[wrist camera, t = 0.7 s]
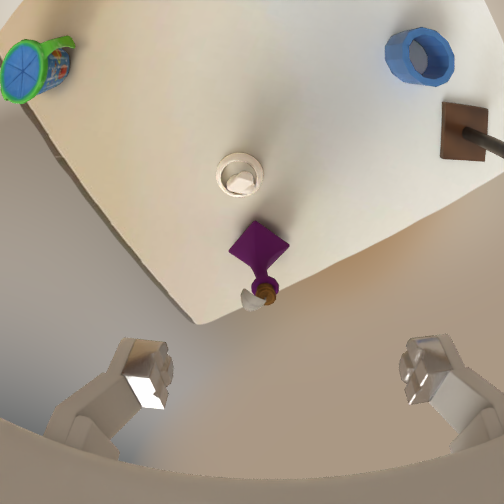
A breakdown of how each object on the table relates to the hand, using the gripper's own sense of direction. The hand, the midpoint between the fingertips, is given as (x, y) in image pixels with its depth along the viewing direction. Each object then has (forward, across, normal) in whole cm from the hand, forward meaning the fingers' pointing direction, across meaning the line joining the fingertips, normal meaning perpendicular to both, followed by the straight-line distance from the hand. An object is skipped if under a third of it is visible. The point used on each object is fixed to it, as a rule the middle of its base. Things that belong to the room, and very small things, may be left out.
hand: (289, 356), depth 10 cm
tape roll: (+42, -22, -14) cm, 50 cm away
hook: (+42, +6, +7) cm, 43 cm away
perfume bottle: (+42, +3, +19) cm, 47 cm away
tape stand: (+42, -34, -2) cm, 54 cm away
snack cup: (+42, +37, -16) cm, 59 cm away
